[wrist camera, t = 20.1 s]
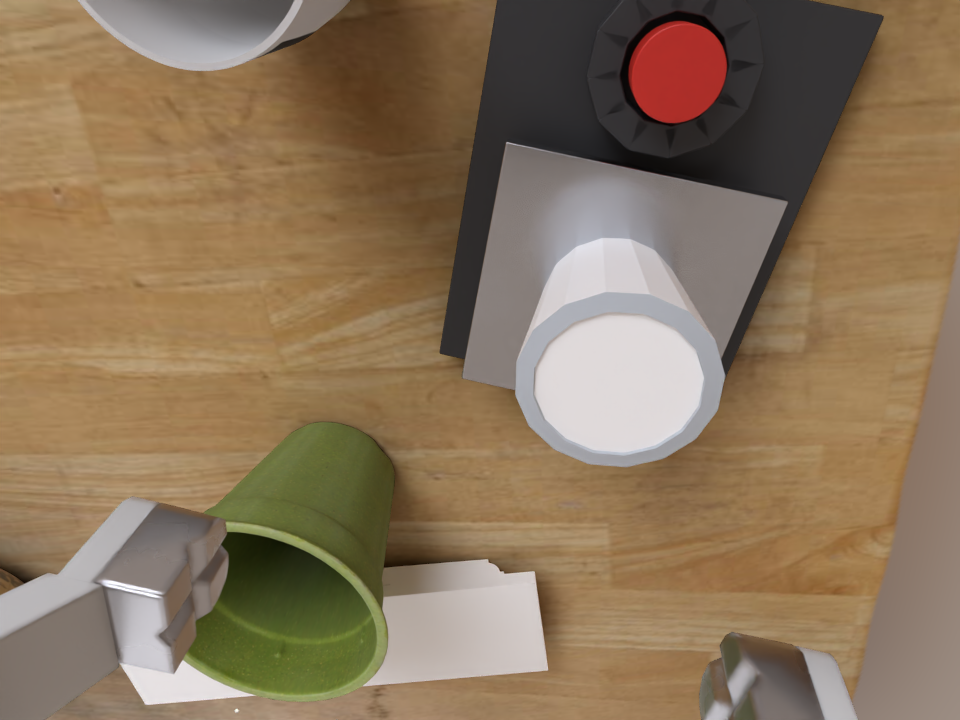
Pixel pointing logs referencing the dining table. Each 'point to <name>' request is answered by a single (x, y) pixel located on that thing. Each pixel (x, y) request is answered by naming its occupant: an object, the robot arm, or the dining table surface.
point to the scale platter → (609, 214)
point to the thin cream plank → (419, 631)
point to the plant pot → (302, 570)
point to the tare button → (677, 71)
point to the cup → (210, 28)
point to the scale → (648, 142)
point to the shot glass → (617, 358)
